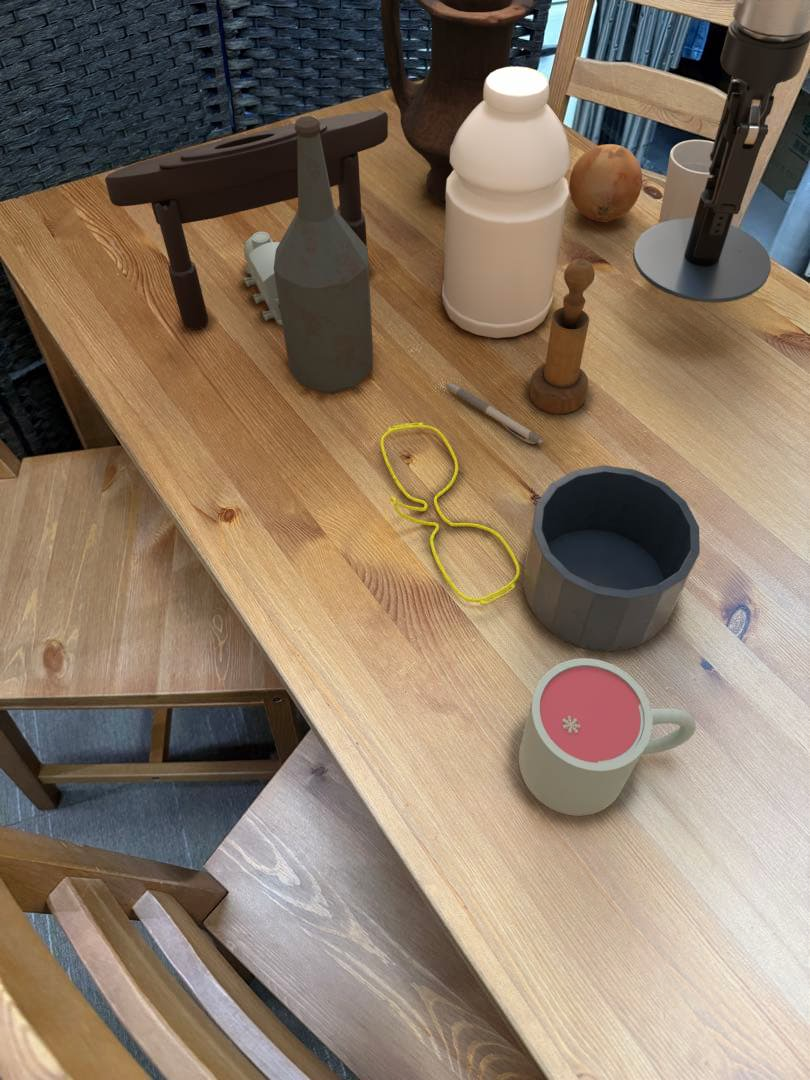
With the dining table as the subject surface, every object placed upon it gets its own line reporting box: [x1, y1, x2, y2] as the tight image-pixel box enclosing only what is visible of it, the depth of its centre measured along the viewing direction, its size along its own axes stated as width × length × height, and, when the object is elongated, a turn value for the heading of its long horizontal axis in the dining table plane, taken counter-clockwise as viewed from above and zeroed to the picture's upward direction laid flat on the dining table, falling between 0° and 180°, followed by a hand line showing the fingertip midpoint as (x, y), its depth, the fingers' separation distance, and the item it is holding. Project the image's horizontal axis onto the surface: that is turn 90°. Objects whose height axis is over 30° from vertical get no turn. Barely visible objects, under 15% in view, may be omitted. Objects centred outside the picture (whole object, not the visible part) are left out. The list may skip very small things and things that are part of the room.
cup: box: [657, 139, 715, 224], centre depth 112 cm, size 8×8×12 cm
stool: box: [104, 109, 389, 330], centre depth 103 cm, size 16×21×33 cm
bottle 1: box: [274, 115, 374, 395], centre depth 91 cm, size 10×10×30 cm
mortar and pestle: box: [529, 258, 596, 415], centre depth 92 cm, size 7×6×18 cm
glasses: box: [379, 422, 521, 606], centre depth 87 cm, size 25×10×5 cm, turn 22°
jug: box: [380, 0, 539, 206], centre depth 113 cm, size 21×18×30 cm
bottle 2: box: [441, 66, 572, 339], centre depth 98 cm, size 14×14×28 cm
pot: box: [522, 464, 701, 652], centre depth 80 cm, size 15×15×10 cm
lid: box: [632, 187, 772, 304], centre depth 97 cm, size 16×16×9 cm
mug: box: [518, 657, 697, 817], centre depth 69 cm, size 14×9×10 cm
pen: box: [445, 382, 543, 445], centre depth 97 cm, size 1×14×1 cm, turn 47°
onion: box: [568, 143, 643, 223], centre depth 117 cm, size 10×10×10 cm
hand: (705, 243), depth 98 cm, fingers closed on lid, 4 cm apart
